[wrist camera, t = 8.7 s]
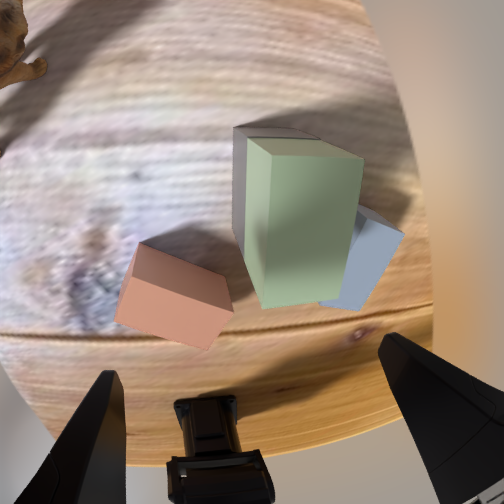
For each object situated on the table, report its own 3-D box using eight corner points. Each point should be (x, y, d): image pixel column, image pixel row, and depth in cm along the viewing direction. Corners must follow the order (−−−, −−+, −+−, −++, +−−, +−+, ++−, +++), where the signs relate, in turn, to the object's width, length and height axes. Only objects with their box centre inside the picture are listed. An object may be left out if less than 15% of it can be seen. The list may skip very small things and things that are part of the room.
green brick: (307, 255, 17) (338, 298, 13) (244, 260, 16) (262, 309, 13) (320, 140, 14) (365, 159, 10) (247, 137, 13) (271, 155, 10)
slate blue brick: (336, 280, 24) (359, 311, 20) (299, 271, 22) (319, 305, 19) (373, 210, 21) (405, 234, 18) (337, 194, 20) (367, 218, 17)
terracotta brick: (224, 275, 21) (234, 312, 18) (202, 311, 22) (207, 350, 19) (139, 241, 19) (131, 276, 15) (122, 283, 20) (113, 321, 16)
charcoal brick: (285, 224, 20) (307, 254, 17) (231, 227, 19) (243, 259, 16) (292, 128, 17) (320, 138, 14) (233, 127, 16) (247, 136, 13)
